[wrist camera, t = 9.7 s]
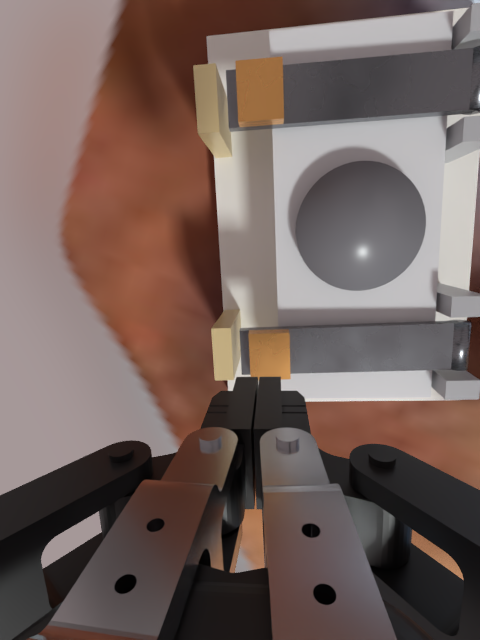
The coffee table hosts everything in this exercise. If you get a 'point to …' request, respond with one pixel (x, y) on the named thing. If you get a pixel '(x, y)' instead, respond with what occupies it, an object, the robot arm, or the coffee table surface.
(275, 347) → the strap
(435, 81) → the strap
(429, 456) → the coffee table surface
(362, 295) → the base
